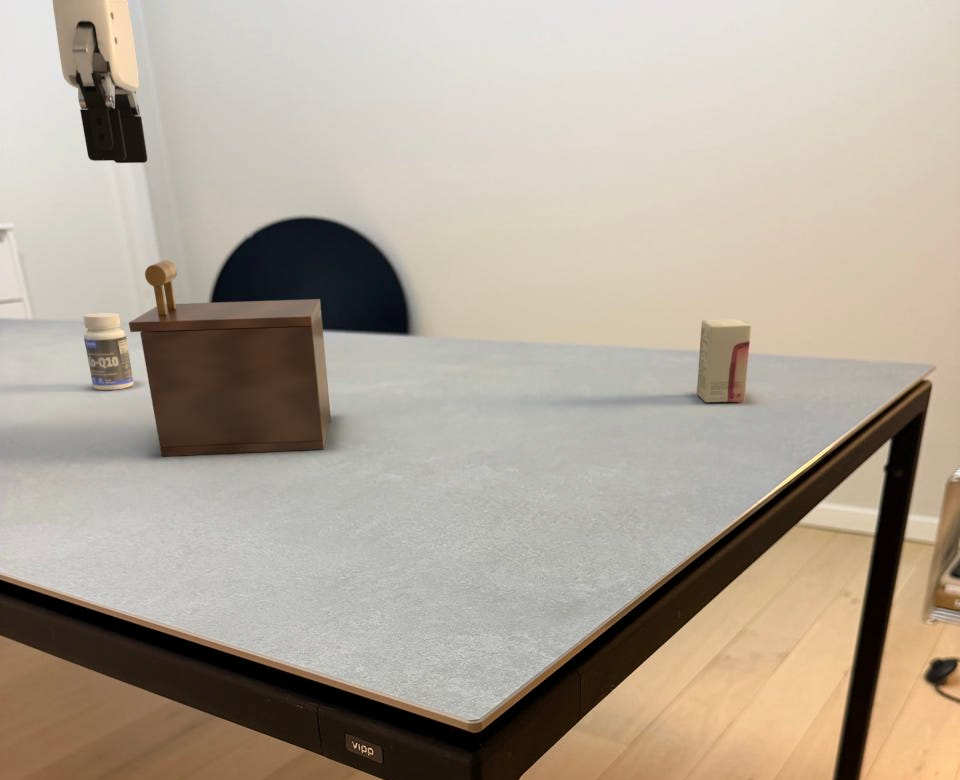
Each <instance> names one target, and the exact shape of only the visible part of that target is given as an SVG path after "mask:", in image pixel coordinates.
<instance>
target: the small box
mask: <svg viewBox="0 0 960 780" xmlns="http://www.w3.org/2000/svg"><path fill="white" fill-rule="evenodd" d="M751 332H752V325H751V324H749V323H748V322H746V321H744V320H742V319H733V318H731V319H728V318H727V319H703V320H701V327H700V340H699V353H698V354H699V355H698V357H699V358H698V367H697V368H698V371H697V383H696V394H697V395H698V397H699V398H701V400H702V401H704V402H705V403H723V402H724V403H727V402H730V403H743V402H745V399H746V390H747V389H746V388H747V376H748V367H749V366H748V365H749V357H750V356H749V355H750V344H751V343H750V342H751Z"/></svg>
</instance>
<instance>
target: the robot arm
mask: <svg viewBox="0 0 960 780" xmlns="http://www.w3.org/2000/svg"><path fill="white" fill-rule="evenodd" d="M52 6H53V7H52V8H53V15H54V21H55V23H54V24H55V30H56V37H57V43H58V51H59V52H58V53H59V59H60V66H61V72H62V76H63V78H64V80H65V81H66V83H68V84H69V86H71V87H72V88H75V89H77V90H78V91H77V92H78V93H77V98H78V99H77V100H78V103H79V107H80V109H79V112H80V117H81V123H82V129H83V135H84V141H85V146H86V147H85V148H86V154H87V157H88V159H89V160H90V161H93V162H97V161H98V162H100V161H101V162H102V161H103V162H104V161H105V162H106V161H107V162H108V161H110V162H111V161H113V162H114V163H116V164H143V163H145V164H146V163H147V162H148V152H147V146H146V145H147V144H146V138H145V133H144V125H143V120H142V119H143V118H142V116H141V110H140V105H139V101H138V99H137V95H136V94H137V90H138V88H139V86H140V77H139V68H138V67H139V66H138V58H137V52H136V45H135V38H134V31H133V26H132V18H131V13H130V6H129V2H128V0H52Z"/></svg>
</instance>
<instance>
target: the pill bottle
mask: <svg viewBox="0 0 960 780" xmlns="http://www.w3.org/2000/svg"><path fill="white" fill-rule="evenodd" d="M83 324H84V328H85V329H87V330H86V331H85V332H84V335H83V341H84V346H85V350H86V356H87V361H88V366H89V371H90V377H91V382H92V387H93V388H94V389H95V390H99V391H100V390H101V391H102V390H103V391H113V390H115V391H116V390H123V389H127V388H129V387H132V386H133V385H134V384H135V383H134V381H135V380H134V375H133V370H132V366H131V365H132V364H131V359H130V353H129V347H128V340H127V335H126V332H125V331H124V330H123V329H121V328H120V327H121V326H122V325H121V318H120V314H119V313H118V312H92V313H87V314H84V315H83Z"/></svg>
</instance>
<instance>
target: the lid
mask: <svg viewBox="0 0 960 780" xmlns="http://www.w3.org/2000/svg"><path fill="white" fill-rule="evenodd" d="M177 275H178V269H177V267H176V265H175V264H174V262H172V261H170V260H161V261H159V262H155V263H154V264H151V265H149V266H147V268H146V269H145V271H144V277H145V280H146V282H147V284H149V285H150V286H152V287H153V291H154V298H155V303H156V306H155V307H153V308H151V309H150V310H148V311H146V312H144V313H143V314H141V315H139V316H137V317H136V318H135V319H132V320H130V321H129V322H128V327H129V330H130V331H129V332H130V333H141V332H147V331H176V330H205V329H234V328H263V327H292V326H312V324H313V322H314V320H315V318H316V316H317V314H318V312H319V310H320V309H321V307H322V306H321V299H320V298H315V299H313V298H312V299H285V300H284V299H283V300H257V301H256V300H250V301H223V302H222V301H221V302H197V303H196V302H191V303H189V302H187V303H176V297H175V291H174V285H173V281H174V280H175V279H176V278H177Z"/></svg>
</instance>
